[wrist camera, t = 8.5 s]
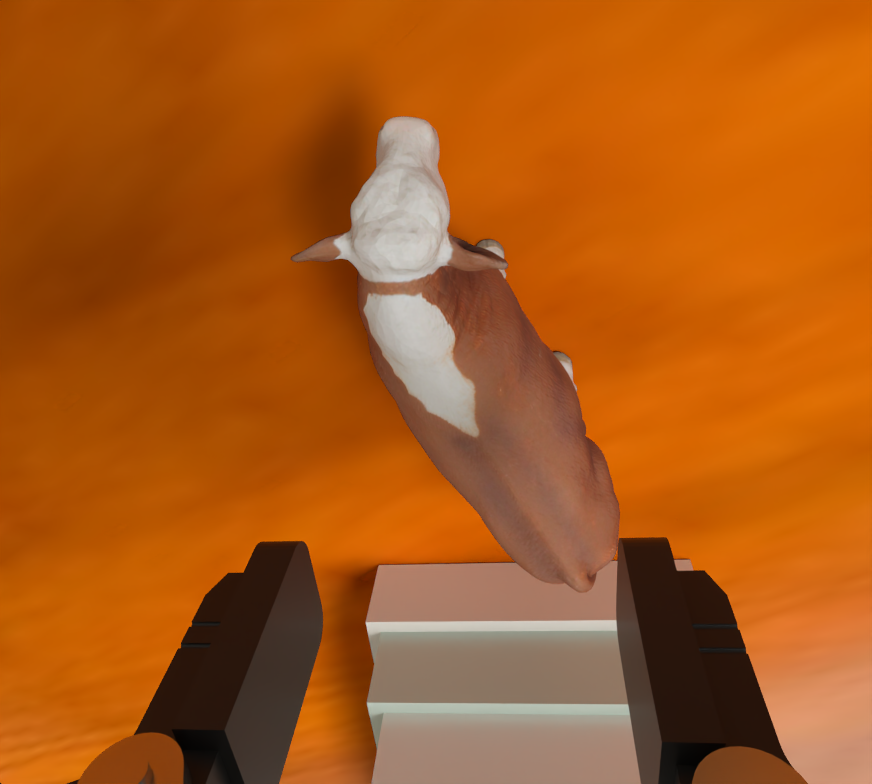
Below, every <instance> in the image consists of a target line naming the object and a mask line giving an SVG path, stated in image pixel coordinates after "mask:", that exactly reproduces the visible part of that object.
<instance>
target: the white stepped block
mask: <svg viewBox="0 0 872 784" xmlns="http://www.w3.org/2000/svg"><path fill="white" fill-rule="evenodd" d="M674 562H675V565H676V569H677V571H694V570H693V567H692V564H691V561H690V559H689V560H674ZM616 592H617V561H610V562H609V563H608V564H607V565H606V566H605V567H603V568H602V569H601V570H599V571H598V572H597V575H596V580H595V583H594V586H593V587H592V589H591V590H589V591H588V592H583V593H580V592H577V591H575V590H574V589H572V588H571V587H569V586H568V585H567V584H565V583H564V584H551V583H546V582H543V581H540V580H538V579H536V578H535V577H533V576H532V575H530V574H529V573H528V572H526V571H525V570H524V569H523V568H521V567H520V566H519V565H518V564H517V563H466V564H410V565H379V566H378V570H377V575H376V579H375V583H374V588H373V592H372V596H371V601H370V605H369V609H368V614H367V618H366V627H367V632H368V637H369V641H370V646H371V651H372V656H373V661H374V669H373V674H372V679H371V684H370V689H369V693H368V698H367V706H368V711H369V715H370V720H371V725H372V729H373V734H374V738H375V743H376V747H377V754H376V760H375V765H374V771H373V777H372V782H371V784H641V781H640V774H639V768H638V762H637V756H636V750H635V743H634V737H633V731H632V725H631V719H630V713H629V706H628V700H627V694H626V688H625V682H624V675H623V669H622V663H621V657H620V651H619V644H618V635H617V623H616Z"/></svg>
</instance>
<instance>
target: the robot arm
mask: <svg viewBox="0 0 872 784" xmlns="http://www.w3.org/2000/svg"><path fill="white" fill-rule="evenodd" d="M616 623H617V635H618V644H619V651H620V657H621V663H622V669H623V675H624V682H625V688H626V694H627V700H628V706H629V713H630V719H631V725H632V731H633V737H634V743H635V750H636V756H637V762H638V768H639V774H640V781H641V784H808V783H807V782H806V781H805V780H804V779H803V777H802V776H801V775H800V774H799V773H798V772H797V771H796V770H795V769H794V768H793V767H792V766H791V764H790V763H789V761H788V760H787V758H786V756H785V755H784V753H783V750H782V748H781V746H780V743H779V740H778V738H777V735H776V732H775V729H774V726H773V723H772V721H771V718H770V715H769V712H768V709H767V707H766V704H765V701H764V698H763V695H762V692H761V690H760V687H759V684H758V681H757V678H756V676H755V673H754V670H753V667H752V664H751V661H750V659H749V656H748V654H746V647H745V644H744V642H743V639H742V636H741V633H740V630H738V628H737V622H736V619H735V616H734V613H733V611H732V608H731V605H730V602H729V599H728V597H727V595H726V594H725V592H724V591H723V590H722V589H721V588H720V587H719V586H718V585H717V584H716V583H715V582H714V581H713V579H712V578H711V577H710V576H709V575H708V574H707V573H706V572H705V571H677V569H676V565H675V562H674V558H673V555H672V551H671V548H670V544H669V542H668V539H667V538H666V537H661V538H619V542H618V561H617V592H616ZM322 628H323V612H322V605H321V601H320V596H319V592H318V588H317V584H316V580H315V576H314V572H313V567H312V563H311V559H310V555H309V551H308V548H307V545H306V544H305V543H304V542H303V541H282V542H260V543H258V544H257V546H256V547H255V549H254V551H253V553H252V556H251V558H250V560H249V562H248V564H247V566H246V568H245V571H244V573H228V574H227V575H226V576H225V577H224V578H223V579H222V580H221V581H220V582H219V583H217V584H216V585H215V586H214V587H213V588H212V589H211V590H210V591H209V592H208V593H207V594H206V595H205V597H204V599H203V601H202V603H201V605H200V607H199V609H198V611H197V613H196V615H195V617H194V619H193V620H192V627H189V628H188V630H187V632H186V634H185V636H184V638H183V640H182V642H181V648H180V649H178V650H177V652H176V654H175V656H174V658H173V660H172V662H171V664H170V666H169V668H168V670H167V672H166V674H165V676H164V677H163V679H162V681H161V683H160V685H159V687H158V689H157V691H156V693H155V695H154V697H153V699H152V701H151V703H150V705H149V707H148V709H147V711H146V713H145V715H144V717H143V719H142V721H141V723H140V725H139V727H138V729H137V730H136V732H135V734H134V735H133V736H130V737H127V738H125V739H123V740H121V741H119V742H117V743H115V744H113V745H112V746H110V747H109V748H107V749H106V750H105V751H103V752H102V753H101V754H100V755H98V756H97V757H96V758H95V759H94V760H93V761H92V762H91V764H90V765H89V766H88V767H87V769H86V770H85V771H84V773H83V774H82V776H81V778H80V779H79V780H76V781H73V782H70V783H67V784H279V781H280V778H281V775H282V771H283V768H284V764H285V761H286V758H287V754H288V751H289V747H290V744H291V741H292V737H293V734H294V730H295V727H296V724H297V720H298V717H299V714H300V710H301V707H302V703H303V700H304V697H305V693H306V690H307V686H308V683H309V680H310V676H311V673H312V669H313V666H314V663H315V659H316V656H317V653H318V649H319V646H320V642H321V637H322ZM0 784H1V783H0Z"/></svg>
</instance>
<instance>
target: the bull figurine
mask: <svg viewBox="0 0 872 784" xmlns="http://www.w3.org/2000/svg"><path fill="white" fill-rule="evenodd" d="M376 160H377V166H376V169H375V171H374V172H373V174H372V175H371V176H370V178H369V179H368V180H367V181H366V183H365V184H364V185H363V186H362V188H361V190H360V192H359V194H358V195H357V197H356V198H355V200H354V201H353V203H352V205H351V209H350V213H351V222H352V226H351V229H350V231H348V232H347V233H343V234H340V235H335V236H330V237H327V238H325V239H323V240H320V241H318V242H317V243H315V244H314V245H312V246H310V247H309V248H307V249H306V250H304V251H302V252H300V253H297V254H295V255H294V256H292V257H291V260H292V261H294V262H302V261H323V262H328V261H332V260H336V259H341V258H342V259H346V260H348V261H350V262H351V263H352V264H353V265H354V266H355V267H356V268H357V270H358V277H357V281H358V307H359V312H360V316H361V319H362V321H363V324H364V326H365V329H366V331H367V332H368V341H369V348H370V353H371V356H372V359H373V362H374V365H375V367H376V369H377V371H378V374H379V375H380V377H381V379H382V381H383V382H384V384H385V386H386V388H387V389H388V391H389V392H390V394H391V395H392V396H393V398H394V399H395V400H396V402H397V405H398V407H399V409H400V411H401V414H402V416H403V418H404V420H405V422H406V423H407V425H408V426H409V428H410V430H411V431H412V433H413V434H414V436H415V437H416V439H417V440H418V442H419V443H420V444H421V446H422V447H423V449H424V450H425V452H426V453H427V455H428V456H429V458H430V459H431V460H432V462H433V463H434V465H435V466H436V467H437V469H438V470H439V471H440V472H441V473H442V475H443V476H444V477H445V478H446V479H447V480H448V481H449V482H450V483H451V484H452V485H453V486H454V487H455V488H456V490H457V491H458V492H459V493H460V494H461V495H462V496H463V497H464V498H465V499H466V500H467V501H468V502H469V503H470V504H471V506H472V507H473V508H474V509H475V510H476V511H477V512H478V514H479V515H480V516H481V518H482V520H483V521H484V523H485V524H486V526H487V527H488V529H489V530H490V532H491V533H492V535H493V536H494V538H495V539H496V540H497V541H498V543H499V544H500V545H501V547H502V548H503V549H504V550H505V552H506V553H507V554H508V555H509V556H510V557H511V558H512V559H513V560H514V561H515V562H516V563H517V564H518V565H519V566H520V567H521V568H523V569H524V570H525V571H526V572H528V573H529V574H530V575H532V576H533V577H535V578H536V579H538V580H540V581H543V582H546V583H551V584H564V583H565V584H567V585H568V586H569V587H571V588H572V589H574V590H575V591H577V592H580V593H583V592H588V591H589V590H591V589H592V587H593V586H594V583H595V580H596V575H597V572H598V571H599V570H601V569H602V568H603V567H605V566H606V565H607V564H608V563H609V562H610V561H611V560H612V559H613V558H614V556H615V554H616V551H617V547H618V531H619V519H620V511H619V503H618V500H617V498H616V495H615V493H614V490H613V484H612V480H611V476H610V473H609V469H608V465H607V462H606V460H605V457H604V455H603V453H602V451H601V450H600V449H599V447H598V446H597V445H596V444H595V443H594V442H593V441H592V440H590V439H589V438H587V437H586V436H585V434H586V426H585V423H584V421H583V420H582V413H581V408H580V403H579V399H578V396H577V392H576V391H577V387H576V385H575V384H574V383H573V371H572V362H571V360H570V358H569V357H568V356H566V355H565V354H564V353H561V352H552V351H551V350H550V349H549V348H548V347H547V346H546V345H545V344H544V343H543V342H542V341H541V339H540V338H539V336H538V334H537V332H536V331H535V329H534V327H533V326H532V324H531V323H530V321H529V320H528V318H527V317H526V315H525V314H524V312H523V311H522V309H521V307H520V305H519V303H518V301H517V299H516V297H515V295H514V293H513V291H512V289H511V288H510V286H509V285H508V283H507V282H506V280H505V277H506V273H505V271H504V269H506V268H507V267H508V263H507V262H506V260H505V259H504V250H503V248H502V246H501V245H500V244H499V243H498V242H497V241H495V240H491V239H488V240H483V241H481V242H479V243H478V244H477V246H473V245H471V244H468V243H467V242H465V241H463V240H461V239H459V238H456V237H453V236H451V235H450V234H449V233H448V231H447V227H448V225H449V220H450V209H449V201H448V197H447V192H446V188H445V185H444V183H443V181H442V178H441V176H440V174H439V172H438V160H439V139H438V135H437V132H436V130H435V129H434V128H433V127H432V126H431V125H430V124H429V123H428V122H427V121H426V120H423V119H420V118H415V117H406V116H404V117H394V118H391V119H389V120H387V121H386V123H385V124H384V126H383V127H382V128H381V129H380V131H379V135H378V142H377V152H376Z"/></svg>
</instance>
